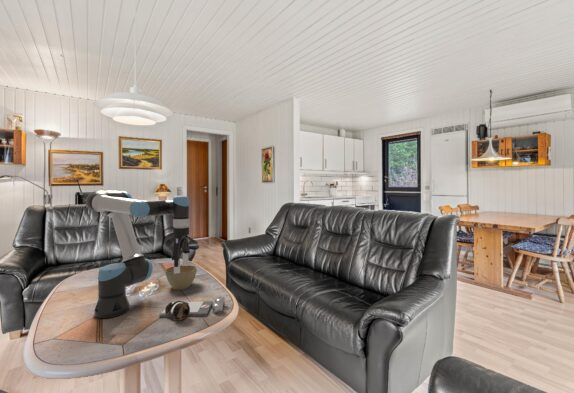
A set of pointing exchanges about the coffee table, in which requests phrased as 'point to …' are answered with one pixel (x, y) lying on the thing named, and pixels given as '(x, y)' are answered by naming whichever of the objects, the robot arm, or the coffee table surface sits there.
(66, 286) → the coffee table surface
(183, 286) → the olive beige round bowl
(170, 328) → the coffee table surface
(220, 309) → the cylinder
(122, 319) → the coffee table surface
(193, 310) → the dial scale
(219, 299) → the cylinder
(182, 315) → the mechanical counter
